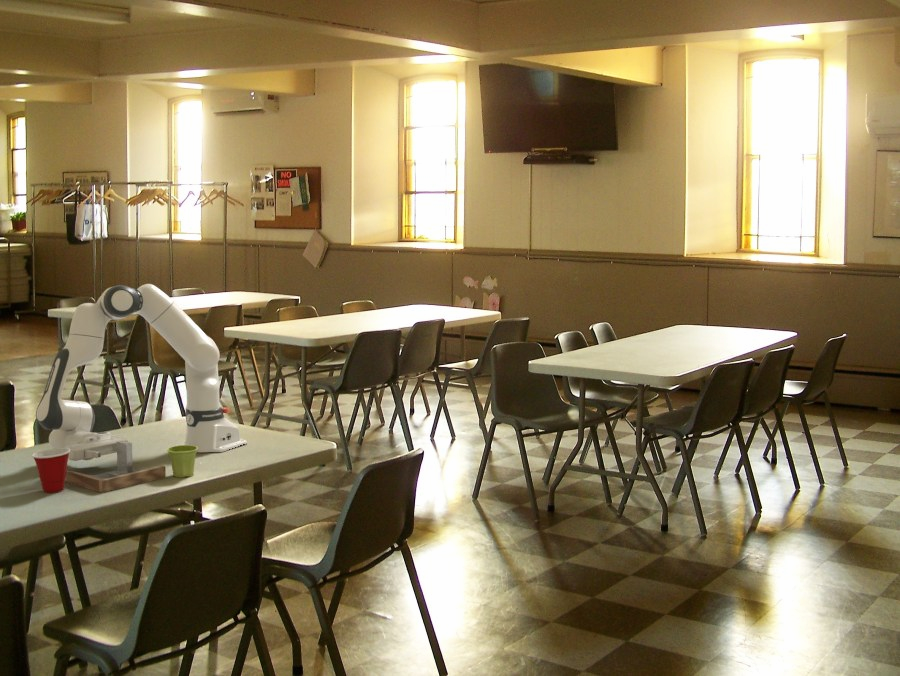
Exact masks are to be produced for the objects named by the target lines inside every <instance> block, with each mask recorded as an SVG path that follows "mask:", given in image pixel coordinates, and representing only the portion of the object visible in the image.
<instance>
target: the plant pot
mask: <svg viewBox="0 0 900 676" xmlns="http://www.w3.org/2000/svg"><path fill="white" fill-rule="evenodd" d="M197 450H198V447H197V446H193V445H184V444H181V445H174V446H169V447H167V449H166V451H167V452H168V456H169V459H170V463H171V464H170V465H171V470H172V474H173V476H174V477H175V478H182V479H183V478H185V477H192V476H193V475H194V474H195V473H194V472H195V463H196V455H197V453H198V452H197Z"/></svg>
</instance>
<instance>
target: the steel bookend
mask: <svg viewBox="0 0 900 676" xmlns="http://www.w3.org/2000/svg"><path fill="white" fill-rule="evenodd" d="M116 461H117V462H116V463H117V464H116V465H117V470H118V472H114V473H109V478H111V477H115V476H120V475H124V474H128V473H133V469H134V467H133V466H134V465H133V464H134V463H133V443H132V442H130V441H128V442H126V441H118V442H117V452H116Z"/></svg>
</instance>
